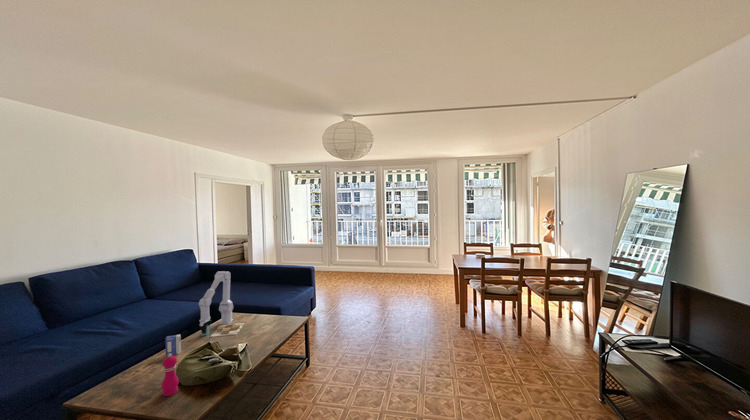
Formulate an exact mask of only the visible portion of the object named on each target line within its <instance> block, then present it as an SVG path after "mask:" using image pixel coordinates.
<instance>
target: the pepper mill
mask: <svg viewBox="0 0 750 420" xmlns="http://www.w3.org/2000/svg"><path fill="white" fill-rule="evenodd" d="M177 362H178V358H177V357H176V356H175V355H172V354H168V356H166V358H164V359H163V361H162V367H163V372H164V378H163V381H162V382H161V389H162V396H163V397H171V396H173V395H174V394H176V393H177V392H178V391H179V387H178V385H179V383H180V382H179V377H178V376H177V375H176V370H175V369H176V368H177V365H176V364H177Z"/></svg>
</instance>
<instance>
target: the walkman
mask: <svg viewBox="0 0 750 420" xmlns="http://www.w3.org/2000/svg"><path fill="white" fill-rule="evenodd" d="M164 338H165V356H166V357H168V354H172V356H175V355H178V354H180V353H181V352H182V336H181V334H180V333H179V334H174V335H168V336H166V337H164Z"/></svg>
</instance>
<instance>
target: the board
mask: <svg viewBox="0 0 750 420" xmlns="http://www.w3.org/2000/svg"><path fill="white" fill-rule="evenodd" d="M243 326H245V322H243V323H241V322H240V323H236V322H235V321H232V322H231V323H228V324H221V325H218V327H217V328H216V330H215V331H214V332H213V333H212V334H211V336H210V338H214V337H215V338H217V337H225V336H237V335H238V334H239V333H240V331H241V330H242V328H243Z"/></svg>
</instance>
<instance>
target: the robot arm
mask: <svg viewBox="0 0 750 420" xmlns="http://www.w3.org/2000/svg"><path fill="white" fill-rule="evenodd" d="M231 277H232V276H231V272H230V271H217V272H216V273H215V274H214V280H213V282H212V283H211V286H210V288H208V289H207V290H206V292H205V293H204V295H203V297H202V298H201V299H199V301H198V306H199V309H200V319H199V320H198V322H200V323H199V324H198V327H199V329H200V331H201V335H202V334H205V333H206V327H207V326H208V325H209V328H210V326H211V323H212V321H213V319H211V315H210V306H211V304H212V298H213V296H214V295H215V294H216V289H217V287H218V286H219V284H220V283H221V282H222V300H221V302H220V303H219V307H218V311H219V312H220V315H221V322H220V323H219V326H221V325H227V324H228V323H233V322H234V318H233V310H234V304H233V301H232V300H231Z"/></svg>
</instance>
